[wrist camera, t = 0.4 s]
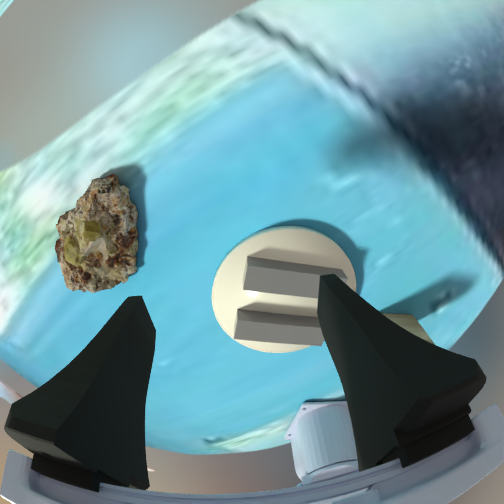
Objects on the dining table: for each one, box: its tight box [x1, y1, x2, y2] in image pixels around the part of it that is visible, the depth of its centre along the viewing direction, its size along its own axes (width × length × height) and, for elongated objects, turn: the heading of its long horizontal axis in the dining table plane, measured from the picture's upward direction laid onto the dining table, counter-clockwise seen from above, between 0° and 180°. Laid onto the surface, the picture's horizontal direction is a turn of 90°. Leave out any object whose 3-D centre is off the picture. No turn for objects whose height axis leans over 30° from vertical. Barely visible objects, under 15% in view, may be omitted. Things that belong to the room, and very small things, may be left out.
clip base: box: [212, 226, 356, 353], centre depth 23 cm, size 12×12×2 cm
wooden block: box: [382, 313, 435, 345], centre depth 22 cm, size 2×5×8 cm, turn 80°
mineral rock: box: [55, 174, 139, 293], centre depth 20 cm, size 11×4×8 cm
